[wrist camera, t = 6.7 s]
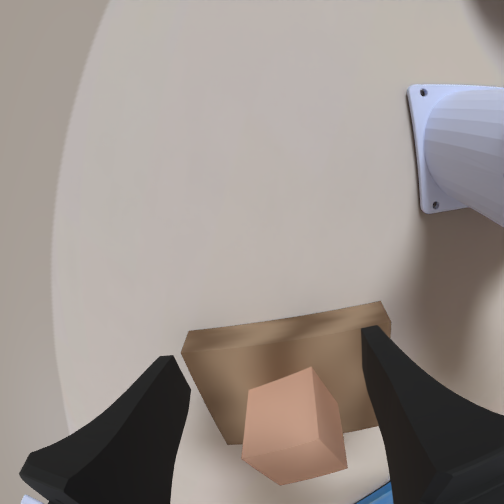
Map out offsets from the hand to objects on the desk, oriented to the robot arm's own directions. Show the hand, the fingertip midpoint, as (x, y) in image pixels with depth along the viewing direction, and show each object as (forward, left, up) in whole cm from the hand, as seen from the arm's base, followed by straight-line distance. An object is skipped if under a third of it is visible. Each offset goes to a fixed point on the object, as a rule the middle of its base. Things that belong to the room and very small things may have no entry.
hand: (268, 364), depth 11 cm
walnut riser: (0, +11, -9) cm, 14 cm away
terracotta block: (0, +10, -7) cm, 12 cm away
